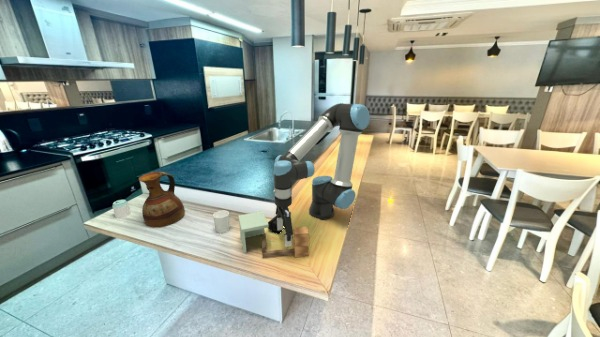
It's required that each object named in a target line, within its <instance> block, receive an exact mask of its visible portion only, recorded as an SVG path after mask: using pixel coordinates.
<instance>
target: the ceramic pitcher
mask: <svg viewBox="0 0 600 337" xmlns="http://www.w3.org/2000/svg"><path fill="white" fill-rule="evenodd" d="M165 176H166V177H167V178H168V180H169V181H168V182H169V184H168V185H169V186H168V189H167V190H164V189H163V187H162V186H161V183H160V182H161V181H160V180H161V178H162V177H165ZM138 181H139V182H141V183H144V184H145V185H146V186H145V187H146V190H148V196H147V197H146V199H145V201H144V203H143V205H142V209H141V211H142V218H143V220H144V223H145V224H146V225H147V226H148V227H151V228H163V227H167V226H168V227H169V226H171V225H174V224H175V223H177V222H179V221H180V220H181V219H182V218H183V217H184V215H185V212H186V210H185V205H184V203H183V201H182V200H181V199H180V198H179V197H178V196H177V195H176V194H175V189H176V188H175V187H176V180H175V178H174V176H173V175H172V174H170V173H169V172H165V171H152V172H149V173H145V174H142V175H141V176H139V177H138Z"/></svg>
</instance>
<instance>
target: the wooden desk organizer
mask: <svg viewBox="0 0 600 337" xmlns="http://www.w3.org/2000/svg"><path fill="white" fill-rule="evenodd" d="M292 229H293V248H284V249H283V248H282V249H274V250H273V249H272V250H267V240H266V238H267V237H266V233H265V234H262V235H261V252H262V259H269V258H279V257H288V256H294V258H303V257H309V254H310V253H309V247H310V246H309V245H310V244H309V239H310V237H309V235H310V233H309V229H308V227H307V226H299V227H292Z"/></svg>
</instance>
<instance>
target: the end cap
mask: <svg viewBox="0 0 600 337" xmlns="http://www.w3.org/2000/svg"><path fill="white" fill-rule="evenodd" d="M283 217H285V216H283ZM277 218H278V217H277V215H276V214H275V216H274V217H272V218H271V219H270V220H269V221H267V222H268V226H269V227H268V228H267V229H268V231H269V232H271V233H273V232H274V233H273V234H276V233H277V234H276V235H280V234H281V233H282V232H283V231H282V230H277ZM283 226H284V222H283ZM283 229H284V228H283ZM284 230H285V229H284ZM280 232H281V233H280Z"/></svg>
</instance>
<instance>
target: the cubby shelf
mask: <svg viewBox="0 0 600 337" xmlns="http://www.w3.org/2000/svg"><path fill="white" fill-rule="evenodd" d="M268 222H269V221H267V218H266V215H265V214H264V211H262V210H261V211H258V212H251V213H246V214H241V215H240V214H239V215H238V224H239V225H238V226H239V233H240V240H241V247H242V252H243V254H247V245H246V239H247V238H251V237H255V236H256V235H257V236H261V235H260V234H265V235H266V233H265V229H268V227H269V226H268Z"/></svg>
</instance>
